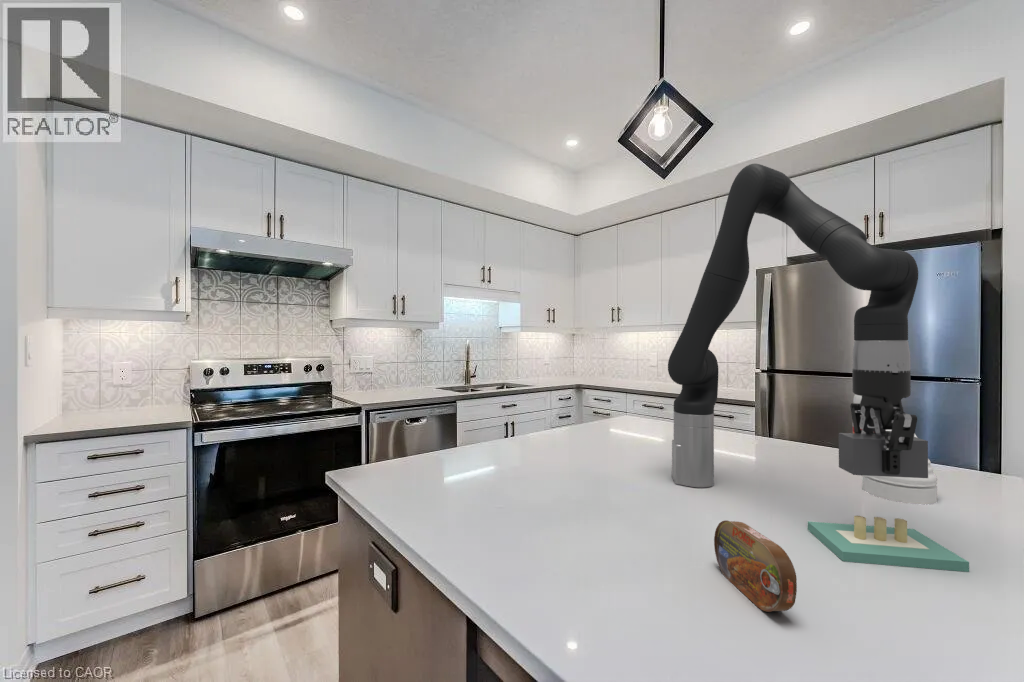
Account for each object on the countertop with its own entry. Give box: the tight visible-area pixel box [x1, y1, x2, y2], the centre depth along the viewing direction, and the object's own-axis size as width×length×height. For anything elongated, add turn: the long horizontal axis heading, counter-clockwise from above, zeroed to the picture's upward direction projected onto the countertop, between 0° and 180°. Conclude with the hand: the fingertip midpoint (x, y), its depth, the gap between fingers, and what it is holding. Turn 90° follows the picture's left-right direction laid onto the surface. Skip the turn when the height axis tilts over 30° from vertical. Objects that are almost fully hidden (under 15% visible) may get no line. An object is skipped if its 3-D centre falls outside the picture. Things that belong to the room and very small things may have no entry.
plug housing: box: [838, 432, 929, 478], centre depth 75 cm, size 11×5×6 cm, turn 79°
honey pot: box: [861, 430, 938, 506], centre depth 101 cm, size 13×13×18 cm
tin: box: [713, 520, 798, 613], centre depth 62 cm, size 15×3×8 cm, turn 5°
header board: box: [807, 515, 970, 573], centre depth 75 cm, size 17×12×5 cm
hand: (881, 468), depth 75 cm, fingers closed on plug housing, 4 cm apart
